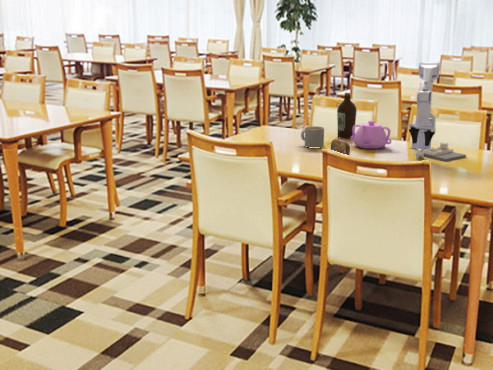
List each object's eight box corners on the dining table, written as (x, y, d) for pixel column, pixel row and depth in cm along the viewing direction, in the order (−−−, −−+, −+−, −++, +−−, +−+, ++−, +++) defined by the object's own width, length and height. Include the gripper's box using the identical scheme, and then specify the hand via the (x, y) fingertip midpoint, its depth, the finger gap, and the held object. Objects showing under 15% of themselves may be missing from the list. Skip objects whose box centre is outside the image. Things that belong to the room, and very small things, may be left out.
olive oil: (347, 134, 353) (349, 91, 346) (359, 137, 344) (361, 93, 337) (332, 136, 348) (334, 92, 341) (344, 139, 339) (345, 94, 332)
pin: (414, 158, 294) (415, 149, 293) (419, 157, 296) (420, 148, 295) (420, 159, 291) (420, 150, 290) (425, 158, 293) (426, 149, 292)
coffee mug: (327, 147, 320) (328, 128, 318) (313, 149, 315) (313, 130, 312) (310, 143, 331) (311, 124, 328) (296, 145, 326) (296, 126, 323)
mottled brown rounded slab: (330, 154, 304) (330, 137, 302) (335, 153, 305) (336, 137, 303) (345, 160, 290) (345, 143, 288) (350, 160, 292) (351, 143, 289)
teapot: (342, 149, 314) (342, 123, 310) (355, 142, 333) (356, 116, 329) (384, 153, 304) (385, 126, 300) (395, 145, 323) (396, 119, 319)
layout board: (418, 155, 300) (419, 144, 299) (439, 151, 308) (440, 141, 307) (445, 161, 288) (446, 150, 286) (466, 157, 296) (467, 146, 294)
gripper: (405, 115, 292) (403, 143, 296) (429, 119, 280) (427, 148, 284) (415, 113, 296) (413, 141, 299) (439, 117, 284) (437, 146, 288)
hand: (420, 144), depth 292 cm, fingers open, 7 cm apart
